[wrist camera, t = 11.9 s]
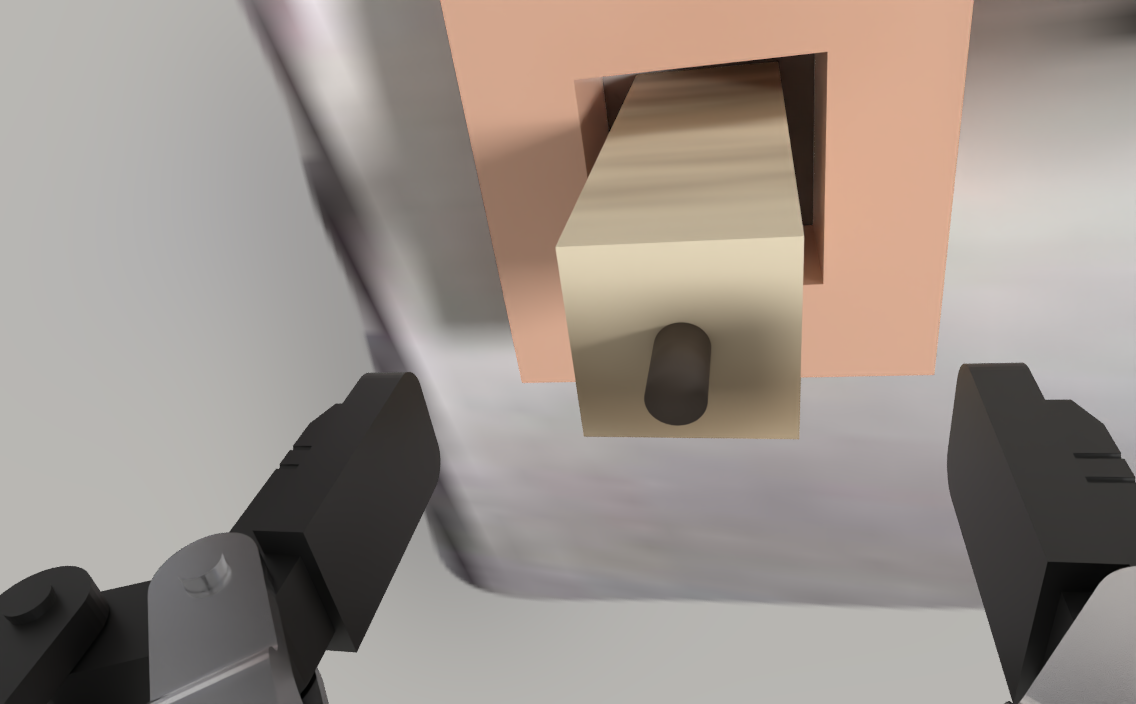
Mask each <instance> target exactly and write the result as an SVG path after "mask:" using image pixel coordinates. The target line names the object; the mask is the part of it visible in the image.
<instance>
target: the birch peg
mask: <svg viewBox="0 0 1136 704" xmlns="http://www.w3.org/2000/svg"><path fill="white" fill-rule="evenodd" d="M555 248H556V255H557V261H558V268H559V274H560V281H561V288H562V294H563V301H564V308H565V314H566V321H567V327H568V334H569V341H570V347H571V354H572V360H573V367H574V374H575V380H576V387H577V394H578V400H579V407H580V413H581V420H582V427H583V433H584V436H585V437H667V438H749V439H799V424H800V385H801V345H802V306H803V266H804V231H803V225H802V218H801V211H800V204H799V198H798V191H797V184H796V178H795V171H794V164H793V157H792V151H791V144H790V137H789V131H788V124H787V117H786V111H785V104H784V97H783V90H782V84H781V77H780V70H779V64H778V61H776V62H765V63H754V64H743V65H732V66H721V67H711V68H700V69H689V70H678V71H667V72H656V73H645V74H637V75H636V77H635V79H634V81H633V83H632V86H631V88H630V90H629V92H628V94H627V96H626V98H625V100H624V103H623V105H622V107H621V109H620V111H619V113H618V115H617V117H616V120H615V122H614V124H613V126H612V128H611V130H610V132H609V134H608V136H607V139H606V141H605V143H604V145H603V147H602V149H601V151H600V153H599V156H598V158H597V160H596V162H595V164H594V166H593V168H592V170H591V173H590V175H589V177H588V179H587V181H586V183H585V185H584V187H583V190H582V192H581V194H580V196H579V198H578V200H577V202H576V204H575V207H574V209H573V211H572V213H571V215H570V217H569V219H568V221H567V223H566V226H565V228H564V230H563V232H562V234H561V236H560V238H559V240H558V243H557V245H556V247H555Z"/></svg>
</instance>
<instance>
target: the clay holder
mask: <svg viewBox="0 0 1136 704" xmlns="http://www.w3.org/2000/svg"><path fill="white" fill-rule="evenodd" d="M440 2H441V7H442V11H443V16H444V21H445V25H446V30H447V35H448V39H449V44H450V49H451V53H452V58H453V63H454V67H455V72H456V77H457V81H458V86H459V91H460V95H461V100H462V105H463V109H464V114H465V119H466V123H467V128H468V133H469V137H470V142H471V147H472V151H473V156H474V161H475V165H476V170H477V175H478V179H479V184H480V189H481V193H482V198H483V203H484V207H485V212H486V217H487V221H488V226H489V231H490V235H491V240H492V245H493V249H494V254H495V259H496V263H497V268H498V273H499V277H500V282H501V287H502V291H503V296H504V301H505V305H506V310H507V315H508V319H509V324H510V329H511V333H512V338H513V343H514V347H515V352H516V357H517V361H518V366H519V371H520V375H521V380H522V383H539V382H576V380H575V374H574V367H573V360H572V354H571V347H570V341H569V334H568V327H567V321H566V314H565V308H564V301H563V294H562V288H561V281H560V274H559V268H558V261H557V255H556V248H555V247H556V245H557V243H558V240H559V238H560V236H561V234H562V232H563V230H564V228H565V226H566V223H567V221H568V219H569V217H570V215H571V213H572V211H573V209H574V207H575V204H576V202H577V200H578V198H579V196H580V194H581V192H582V190H583V187H584V185H585V183H586V181H587V179H588V177H589V175H590V173H591V170H592V168H593V166H594V164H595V162H596V160H597V158H598V156H599V153H600V151H601V149H602V147H603V145H604V143H605V141H606V139H607V136H608V134H609V128H608V120H607V111H606V103H605V95H604V87H603V79H602V77H605V76H614V75H623V74H632V73H641V72H650V71H659V70H668V69H677V68H686V67H695V66H704V65H713V64H722V63H731V62H740V61H749V60H758V59H767V58H775V57H784V56H793V55H802V54H811V53H815V70H814V164H813V225H803V231H804V266H803V306H802V345H801V377H847V376H899V375H934V372H935V362H936V353H937V343H938V334H939V325H940V315H941V306H942V296H943V287H944V277H945V268H946V258H947V249H948V239H949V230H950V221H951V211H952V202H953V192H954V183H955V173H956V164H957V154H958V145H959V135H960V126H961V117H962V107H963V98H964V88H965V79H966V69H967V60H968V50H969V41H970V31H971V22H972V13H973V3H974V0H440Z"/></svg>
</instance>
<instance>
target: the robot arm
mask: <svg viewBox="0 0 1136 704" xmlns="http://www.w3.org/2000/svg"><path fill="white" fill-rule="evenodd" d="M439 473H440V451H439V446H438V443H437V439H436V436H435V433H434V429H433V426H432V422H431V419H430V416H429V412H428V409H427V406H426V402H425V399H424V396H423V392H422V389H421V386H420V383H419V381H418V379H417V377H416V376H415V375H414V374H413V373H411V372H389V373H366V374H364V375H363V376H362V377H361V378H360V379H359V381H358V382H357V384H356V385H355V387H354V388H353V390H352V391H351V392H350V394H349V395H348V397H347V398H346V399H345V401H344V402H343V403H342V404H335V405H333V406H332V407H331V408H329V409H328V410H327V411H325V412H324V413H323V414H321V415H320V416H319V417H318V418H316V419H315V420H314V421H312V422H311V423H310V424H309V425H308V427H307V428H306V429H305V431H304V432H303V433H302V435H301V436H300V437H299V439H298V440H297V441H296V443H295V444H294V445H293V450H290V451H289V452H288V453H287V455H286V456H285V458H284V459H283V460H282V462H281V463H280V468H279V469H276V470H275V471H274V473H273V474H272V475H271V477H270V478H269V479H268V481H267V482H266V483H265V485H264V486H263V487H262V489H261V490H260V491H259V493H258V494H257V495H256V497H255V498H254V499H253V501H252V502H251V503H250V505H249V506H248V508H247V509H246V510H245V512H244V513H243V514H242V516H241V517H240V518H239V520H238V521H237V522H236V524H235V525H234V526H233V528H232V529H231V531H230V532H228V533H219V534H214V535H211V536H207V537H204V538H202V539H199V540H197V541H195V542H193V543H191V544H189V545H187V546H185V547H184V548H182V549H181V550H179V551H178V552H176V553H175V554H174V555H172V556H171V557H170V558H169V559H168V560H166V562H165V563H164V564H163V565H162V566H161V567H160V568H159V570H158V571H157V572H156V573H155V575H154V577H153V578H152V580H151V581H147V582H142V583H137V584H133V585H129V586H124V587H119V588H115V589H110V590H106V591H102V592H100V590H99V589H98V587H97V586H96V584H95V583H94V581H93V580H92V578H91V577H90V575H89V574H88V573H87V571H85V570H84V569H82V568H79V567H76V566H61V567H56V568H51V569H48V570H44V571H42V572H39V573H37V574H34V575H32V576H30V577H28V578H26V579H24V580H22V581H20V582H19V583H17V584H15V585H14V586H12V587H11V588H9V589H8V590H6V591H5V592H4V593H3V594H1V595H0V704H329V702H328V699H327V695H326V691H325V687H324V683H323V679H322V677H321V674H320V673H319V670H318V668H317V666H318V664H319V662H320V660H321V658H322V657H323V655H324V652H325V651H326V650H331V651H345V652H357V651H358V649H359V646H360V644H361V642H362V640H363V638H364V636H365V634H366V632H367V630H368V628H369V626H370V623H371V621H372V619H373V617H374V615H375V613H376V610H377V609H378V607H379V604H380V602H381V600H382V598H383V596H384V594H385V592H386V590H387V588H388V586H389V584H390V581H391V579H392V577H393V575H394V573H395V571H396V569H397V567H398V565H399V563H400V561H401V558H402V556H403V554H404V552H405V550H406V548H407V546H408V543H409V541H410V540H411V537H412V535H413V533H414V531H415V529H416V527H417V525H418V523H419V521H420V519H421V516H422V514H423V512H424V510H425V508H426V506H427V504H428V502H429V500H430V498H431V496H432V493H433V491H434V489H435V487H436V485H437V482H438V478H439ZM947 473H948V484H949V490H950V495H951V499H952V502H953V505H954V509H955V512H956V515H957V519H958V522H959V525H960V529H961V532H962V535H963V539H964V542H965V545H966V549H967V552H968V555H969V559H970V562H971V565H972V569H973V572H974V575H975V579H976V582H977V585H978V588H979V592H980V595H981V598H982V602H983V605H984V608H985V612H986V615H987V618H988V621H989V625H990V628H991V632H992V635H993V638H994V642H995V645H996V648H997V652H998V654H999V658H1000V662H1001V665H1002V668H1003V671H1004V675H1005V678H1006V681H1007V685H1008V688H1009V691H1010V695H1011V698H1012V701H1013V703H1011V702H1010V701H1008V702H1006V703H1005V704H1136V483H1135V476H1134V474H1133V473H1132V471H1131V469H1130V468H1129V466H1128V464H1127V462H1126V461H1125V459H1121V452H1120V451H1119V449H1118V447H1117V446H1116V444H1115V442H1114V441H1113V439H1112V437H1111V436H1110V434H1109V432H1108V430H1107V429H1106V427H1105V425H1104V424H1103V423H1101V422H1100V421H1099V420H1097V419H1096V418H1095V417H1093V416H1092V415H1091V414H1089V413H1088V412H1087V411H1085V410H1084V409H1083V408H1081V407H1080V406H1079V405H1077V404H1076V403H1075V402H1073V401H1072V400H1045V399H1044V397H1043V395H1042V393H1041V391H1040V389H1039V387H1038V385H1037V383H1036V381H1035V379H1034V377H1033V375H1032V373H1031V372H1030V370H1029V368H1028V366H1027V365H1026V364H1024V363H980V364H963V365H962V366H961V367H960V370H959V373H958V378H957V385H956V393H955V400H954V408H953V415H952V423H951V430H950V438H949V445H948V454H947Z"/></svg>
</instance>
